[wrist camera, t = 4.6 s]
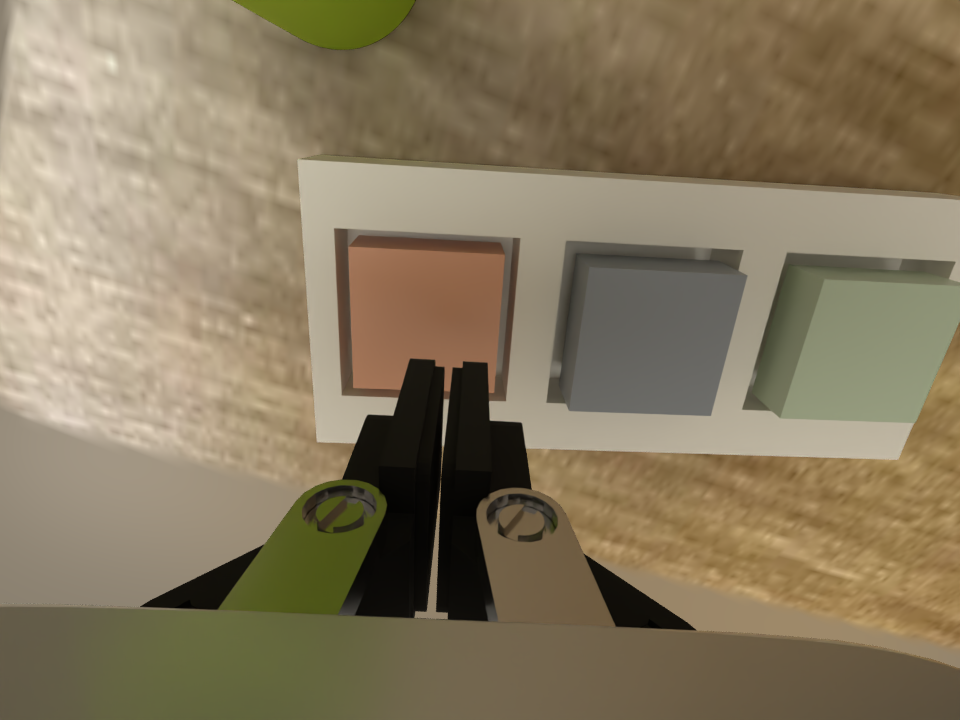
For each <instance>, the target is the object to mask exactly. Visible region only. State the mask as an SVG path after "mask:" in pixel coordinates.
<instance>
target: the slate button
mask: <svg viewBox="0 0 960 720" xmlns="http://www.w3.org/2000/svg"><path fill="white" fill-rule="evenodd" d="M747 276H748V275H746V274H744V273H742V272H740V271H738V270H736V269H734V268H732V267H730V266H728V265H726V264H724V263H722V262H720V261H714V260H695V259H676V258H657V257H637V256H618V255H599V254H580V253H576V259H575V266H574V274H573V281H572V289H571V297H570V304H569V312H568V319H567V327H566V335H565V342H564V350H563V357H562V365H561V373H560V380H559V387H560V390H561V392H562V395H563V397H564V400H565V402H566V405H567V407H568V410H569V411H580V412H608V413H637V414H666V415H695V416H711V413H712V410H713V406H714V402H715V398H716V394H717V391H718V387H719V383H720V379H721V375H722V371H723V368H724V364H725V360H726V356H727V352H728V349H729V345H730V341H731V337H732V333H733V329H734V326H735V322H736V318H737V314H738V310H739V307H740V303H741V299H742V295H743V291H744V287H745V284H746V280H747Z"/></svg>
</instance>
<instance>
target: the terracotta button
mask: <svg viewBox="0 0 960 720" xmlns="http://www.w3.org/2000/svg"><path fill="white" fill-rule="evenodd" d="M348 252H349V280H350V307H351V335H352V363H353V388H366V389H393V390H401V387H402V384H403V380H404V377H405V373H406V370H407V367H408V363H409V360H410V358H413V359H431V360H435V362H436V366H439V367H445V379H444V391H448V392H450V387H451V378H452V368H453V367H457V368H462V367H463V361H468V362H486V363H488V384H489V393H494V388H495V376H496V363H497V350H498V338H499V325H500V313H501V300H502V287H503V275H504V262H505V253H504V251H503V248H502V245H501V243H497V242H478V241H459V240H441V239H422V238H403V237H384V236H365V235H359V236H358V237H357V238H356V239H355V240H354V241H353V242H352V243H351V244H350V245H349V247H348Z"/></svg>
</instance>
